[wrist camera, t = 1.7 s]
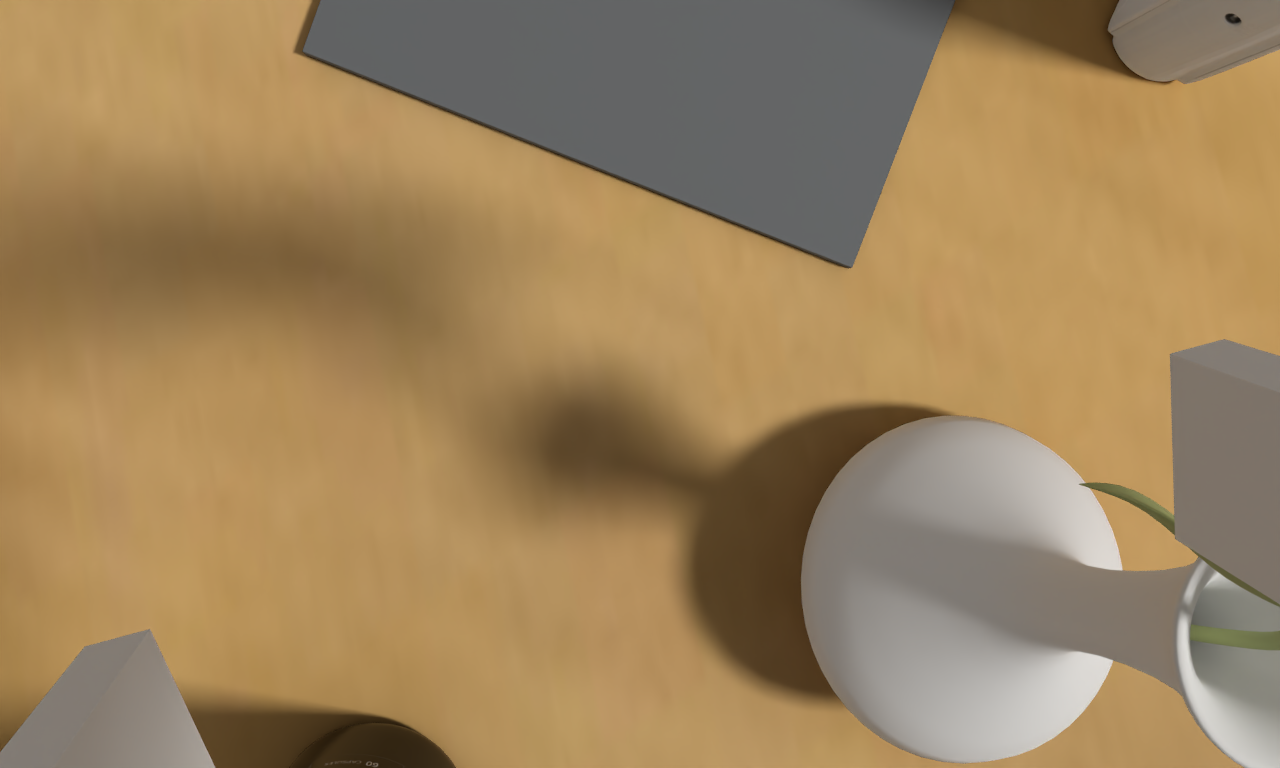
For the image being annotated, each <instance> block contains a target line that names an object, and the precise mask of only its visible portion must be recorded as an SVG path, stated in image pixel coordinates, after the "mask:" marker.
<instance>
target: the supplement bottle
mask: <svg viewBox="0 0 1280 768" xmlns="http://www.w3.org/2000/svg"><path fill="white" fill-rule="evenodd" d="M289 768H456V767H455V765H454V764H453V762H452V761H451V760H450V758H449V757H448V756H447V755H446V754H445V753H444V752H443V751H442V749H440V748H439V747H438V746H437V745H436V744H435V743H433V742H432V741H431V740H429V739H428V738H426V737H425V736H423V735H421V734H419V733H417V732H415V731H413V730H411V729H408V728H405V727H402V726H398V725H394V724H387V723H374V722H373V723H361V724H354V725H350V726H346V727H343V728H340V729H337V730H335V731H333V732H331V733H329V734H326V735H325V736H323V737H321V738H320V739H318V740H317V741H315V742H314V743H312V744H311V745H310V746H309V747H308V748H306V749H305V750H304V751H303V752H302V753H301V754H300V755H299V756H298V758H297V759H296V760H295V761H294V762H293V763H292V765H291V766H290V767H289Z"/></svg>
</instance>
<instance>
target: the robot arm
mask: <svg viewBox="0 0 1280 768" xmlns="http://www.w3.org/2000/svg"><path fill="white" fill-rule="evenodd" d="M1170 372H1171V408H1172V445H1173V482H1174V518H1175V539H1176V540H1178V541H1179V542H1181V543H1183V544H1184V545H1186V546H1187V547H1189V548H1190V549H1192V550H1194V551H1195V552H1197V553H1198V554H1200V555H1202V556H1203V557H1205V558H1206V559H1208V560H1210V561H1211V562H1213V563H1214V564H1216V565H1218V566H1219V567H1221V568H1222V569H1224V570H1226V571H1227V572H1229V573H1230V574H1232V575H1234V576H1235V577H1237V578H1238V579H1240V580H1242V581H1243V582H1245V583H1246V584H1248V585H1250V586H1251V587H1253V588H1254V589H1256V590H1258V591H1259V592H1261V593H1262V594H1264V595H1266V596H1267V597H1269V598H1270V599H1272V600H1274V601H1275V602H1277V603H1278V604H1280V356H1278V355H1274V354H1271V353H1268V352H1265V351H1261V350H1258V349H1255V348H1251V347H1248V346H1245V345H1242V344H1238V343H1235V342H1232V341H1228V340H1225V339H1223V340H1220V341H1216V342H1212V343H1208V344H1205V345H1201V346H1197V347H1194V348H1190V349H1186V350H1182V351H1179V352H1175V353H1171V354H1170ZM0 768H215V766H214V764H213V762H212V760H211V757H210V755H209V753H208V751H207V749H206V747H205V745H204V743H203V740H202V738H201V736H200V734H199V732H198V730H197V728H196V726H195V723H194V721H193V719H192V717H191V715H190V713H189V711H188V709H187V707H186V704H185V702H184V700H183V698H182V696H181V694H180V692H179V690H178V687H177V685H176V683H175V681H174V679H173V677H172V675H171V673H170V670H169V668H168V666H167V664H166V662H165V660H164V658H163V656H162V653H161V651H160V649H159V647H158V645H157V643H156V641H155V639H154V636H153V634H152V632H151V630H150V629H149V630H145V631H141V632H137V633H134V634H130V635H126V636H123V637H119V638H115V639H111V640H108V641H104V642H100V643H97V644H93V645H89V646H86V647H84V648H83V649H82V651H81V652H80V653H79V654H78V656H77V657H76V658H75V659H74V661H73V662H72V663H71V664H70V666H69V667H68V668H67V669H66V671H65V672H64V673H63V674H62V676H61V677H60V678H59V679H58V681H57V682H56V683H55V684H54V686H53V687H52V688H51V689H50V691H49V692H48V693H47V694H46V696H45V697H44V698H43V699H42V701H41V702H40V703H39V704H38V706H37V707H36V708H35V709H34V711H33V712H32V713H31V714H30V716H29V717H28V718H27V719H26V721H25V722H24V723H23V724H22V726H21V727H20V728H19V729H18V731H17V732H16V733H15V734H14V736H13V737H12V738H11V739H10V741H9V742H8V743H7V744H6V746H5V747H4V748H3V749H2V751H1V752H0Z"/></svg>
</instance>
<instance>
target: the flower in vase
mask: <svg viewBox="0 0 1280 768" xmlns="http://www.w3.org/2000/svg"><path fill="white" fill-rule="evenodd" d="M1090 488H1092V489H1095V490H1098V491H1102V492H1104V493H1107V494H1110V495H1113V496H1116V497H1118V498H1120V499H1122V500H1125V501H1127V502H1129V503H1131V504H1133V505H1134V506H1136V507H1138V508H1140V509H1141V510H1143V511H1145V512H1146V513H1148V514H1149V515H1150V516H1152V517H1153V518H1154V519H1156V520H1157V521H1158V522H1160V523H1161V524H1162V525H1163V526H1165V527H1166V528H1167V529H1168V530H1169V531H1170V532H1172V533H1173V534H1174V535H1175V518H1174V515H1173V514H1171V513H1170V512H1169V511H1167V510H1166V509H1165V508H1163V507H1162V506H1160V505H1159V504H1157V503H1156V502H1154V501H1153V500H1151V499H1150V498H1148V497H1146V496H1144V495H1142V494H1140V493H1138V492H1136V491H1134V490H1131V489H1128V488H1125V487H1122V486H1119V485H1113V484H1108V483H1085V482H1084V481H1083V479H1082V478H1081V477H1080V476H1079V474H1078V473H1077V472H1076V471H1075V470H1074V469H1073V468H1072V467H1071V466H1070V465H1069V464H1068V463H1067V462H1066V461H1065V460H1063V459H1062V458H1061V457H1059V456H1058V455H1057V454H1056V453H1054V452H1053V451H1052V450H1051V449H1049V448H1048V447H1046V446H1044V445H1043V444H1041V443H1039V442H1038V441H1036V440H1034V439H1033V438H1031V437H1029V436H1027V435H1026V434H1024V433H1022V432H1020V431H1018V430H1015V429H1013V428H1011V427H1009V426H1006V425H1004V424H1001V423H997V422H994V421H990V420H987V419H983V418H976V417H969V416H938V417H931V418H924V419H920V420H917V421H913V422H910V423H906V424H903V425H901V426H899V427H897V428H895V429H892V430H890V431H888V432H886V433H884V434H883V435H881V436H879V437H878V438H876V439H875V440H873V441H872V442H870V443H868V444H867V445H866V446H865V447H864V448H862V449H861V450H860V451H859V452H858V453H857V454H855V455H854V456H853V457H852V458H851V459H850V460H849V461H848V462H847V464H846V465H845V466H844V467H843V468H842V469H841V470H840V471H839V472H838V474H837V475H836V477H835V478H834V480H833V481H832V482H831V484H830V485H829V487H828V488H827V490H826V491H825V493H824V495H823V497H822V499H821V501H820V503H819V505H818V507H817V509H816V511H815V514H814V517H813V520H812V522H811V525H810V528H809V531H808V534H807V539H806V544H805V548H804V553H803V561H802V572H801V594H802V607H803V613H804V620H805V626H806V629H807V633H808V636H809V640H810V643H811V647H812V650H813V652H814V654H815V657H816V659H817V661H818V664H819V666H820V668H821V670H822V672H823V674H824V676H825V677H826V679H827V681H828V682H829V684H830V686H831V688H832V689H833V691H834V692H835V693H836V695H837V696H838V697H839V699H840V700H841V701H842V702H843V704H844V705H845V706H846V708H847V709H848V710H849V711H850V712H851V713H852V714H853V715H854V716H855V717H856V718H857V719H858V720H859V721H860V722H861V723H862V724H863V725H864V726H866V727H867V728H868V729H870V730H871V731H872V732H874V733H875V734H876V735H878V736H879V737H880V738H882V739H883V740H885V741H887V742H889V743H891V744H892V745H894V746H896V747H898V748H900V749H902V750H904V751H907V752H909V753H912V754H915V755H917V756H920V757H923V758H928V759H932V760H936V761H941V762H951V763H976V762H987V761H993V760H998V759H1003V758H1007V757H1012V756H1016V755H1019V754H1022V753H1024V752H1027V751H1029V750H1032V749H1035V748H1037V747H1038V746H1040V745H1042V744H1044V743H1045V742H1047V741H1049V740H1051V739H1053V738H1054V737H1055V736H1057V735H1058V734H1059V733H1061V732H1062V731H1063V730H1064V729H1066V728H1067V727H1068V726H1070V725H1071V724H1072V723H1073V722H1074V721H1075V720H1076V718H1077V717H1078V716H1079V715H1080V714H1081V713H1082V712H1083V711H1084V710H1085V709H1086V708H1087V706H1088V705H1089V704H1090V702H1091V701H1092V700H1093V698H1094V697H1095V696H1096V694H1097V693H1098V691H1099V689H1100V687H1101V685H1102V684H1103V682H1104V680H1105V678H1106V677H1107V674H1108V672H1109V670H1110V667H1111V665H1112V662H1113V660H1114V661H1117V662H1120V663H1123V664H1126V665H1128V666H1130V667H1133V668H1135V669H1137V670H1139V671H1142V672H1144V673H1146V674H1149V675H1151V676H1153V677H1155V678H1156V679H1158V680H1160V681H1161V682H1163V683H1165V684H1166V685H1168V686H1170V687H1172V688H1173V689H1175V690H1176V691H1177V692H1178V693H1179V694H1180V695H1181V696H1182V697H1183V699H1184V701H1185V704H1186V706H1187V708H1188V710H1189V712H1190V713H1191V715H1192V717H1193V718H1194V720H1195V722H1196V723H1197V725H1198V726H1199V727H1200V729H1201V730H1202V731H1203V732H1204V734H1205V735H1206V736H1207V737H1208V738H1209V739H1210V740H1211V741H1212V742H1213V743H1214V744H1215V745H1216V746H1217V748H1219V749H1220V750H1221V751H1222V752H1223V753H1224V754H1226V755H1227V756H1228V757H1229V758H1231V759H1232V760H1233V761H1235V762H1236V763H1238V764H1240V765H1241V766H1243V767H1245V768H1280V604H1278V603H1277V602H1275V601H1274V600H1272V599H1270V598H1269V597H1267V596H1266V595H1264V594H1262V593H1261V592H1259V591H1258V590H1256V589H1254V588H1253V587H1251V586H1250V585H1248V584H1246V583H1245V582H1243V581H1242V580H1240V579H1238V578H1237V577H1235V576H1234V575H1232V574H1230V573H1229V572H1227V571H1226V570H1224V569H1222V568H1221V567H1219V566H1218V565H1216V564H1214V563H1213V562H1211V561H1210V560H1208V559H1206V558H1205V557H1203V556H1202V555H1200V554H1198V553H1197V552H1195V551H1194V550H1192V549H1191V550H1192V551H1193V552H1194V553H1195V554H1196V555H1198V556H1199V557H1198V558H1197V560H1196V561H1195V562H1194V563H1192V564H1190V565H1187V566H1184V567H1179V568H1173V569H1167V570H1156V571H1123V570H1122V565H1121V559H1120V554H1119V550H1118V547H1117V543H1116V540H1115V537H1114V534H1113V531H1112V528H1111V526H1110V524H1109V522H1108V519H1107V517H1106V515H1105V513H1104V511H1103V509H1102V507H1101V506H1100V504H1099V502H1098V501H1097V499H1096V497H1095V496H1094V494H1093V492H1092V491H1091V490H1090Z"/></svg>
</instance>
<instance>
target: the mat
mask: <svg viewBox="0 0 1280 768" xmlns="http://www.w3.org/2000/svg"><path fill="white" fill-rule="evenodd" d="M954 2H955V0H321V1H320V4H319V6H318V9H317V12H316V15H315V18H314V20H313V23H312V26H311V29H310V32H309V34H308V37H307V40H306V43H305V45H304V48H303V52H304V53H305V54H306V55H307V56H310V57H313V58H315V59H318V60H320V61H323V62H325V63H328V64H330V65H333V66H335V67H338V68H341V69H343V70H346V71H348V72H351V73H353V74H356V75H358V76H361V77H363V78H366V79H369V80H371V81H374V82H376V83H379V84H381V85H384V86H386V87H389V88H391V89H394V90H396V91H399V92H402V93H404V94H407V95H409V96H412V97H414V98H417V99H419V100H422V101H424V102H427V103H430V104H432V105H435V106H437V107H440V108H442V109H445V110H447V111H450V112H452V113H455V114H458V115H460V116H463V117H465V118H468V119H470V120H473V121H475V122H478V123H480V124H483V125H485V126H488V127H491V128H493V129H496V130H498V131H501V132H503V133H506V134H508V135H511V136H513V137H516V138H519V139H521V140H524V141H526V142H529V143H531V144H534V145H536V146H539V147H541V148H544V149H547V150H549V151H552V152H554V153H557V154H559V155H562V156H564V157H567V158H569V159H572V160H574V161H577V162H580V163H582V164H585V165H587V166H590V167H592V168H595V169H597V170H600V171H602V172H605V173H608V174H610V175H613V176H615V177H618V178H620V179H623V180H625V181H628V182H630V183H633V184H635V185H638V186H641V187H643V188H646V189H648V190H651V191H653V192H656V193H658V194H661V195H663V196H666V197H669V198H671V199H674V200H676V201H679V202H681V203H684V204H686V205H689V206H691V207H694V208H697V209H699V210H702V211H704V212H707V213H709V214H712V215H714V216H717V217H719V218H722V219H724V220H727V221H730V222H732V223H735V224H737V225H740V226H742V227H745V228H747V229H750V230H752V231H755V232H758V233H760V234H763V235H765V236H768V237H770V238H773V239H775V240H778V241H780V242H783V243H786V244H788V245H791V246H793V247H796V248H798V249H801V250H803V251H806V252H808V253H811V254H813V255H816V256H819V257H821V258H824V259H826V260H829V261H831V262H834V263H836V264H839V265H841V266H844V267H847V268H852V267H853V264H854V261H855V259H856V256H857V254H858V251H859V248H860V246H861V243H862V241H863V238H864V235H865V233H866V230H867V228H868V225H869V223H870V220H871V217H872V215H873V212H874V210H875V207H876V204H877V202H878V199H879V197H880V194H881V191H882V189H883V186H884V184H885V181H886V178H887V176H888V173H889V171H890V168H891V165H892V163H893V160H894V158H895V155H896V152H897V150H898V147H899V145H900V142H901V140H902V137H903V134H904V132H905V129H906V127H907V124H908V121H909V119H910V116H911V114H912V111H913V108H914V106H915V103H916V101H917V98H918V95H919V93H920V90H921V88H922V85H923V82H924V80H925V77H926V75H927V72H928V70H929V67H930V64H931V62H932V59H933V57H934V54H935V51H936V49H937V46H938V44H939V41H940V38H941V36H942V33H943V31H944V28H945V25H946V23H947V20H948V18H949V15H950V12H951V10H952V7H953V5H954Z"/></svg>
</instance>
